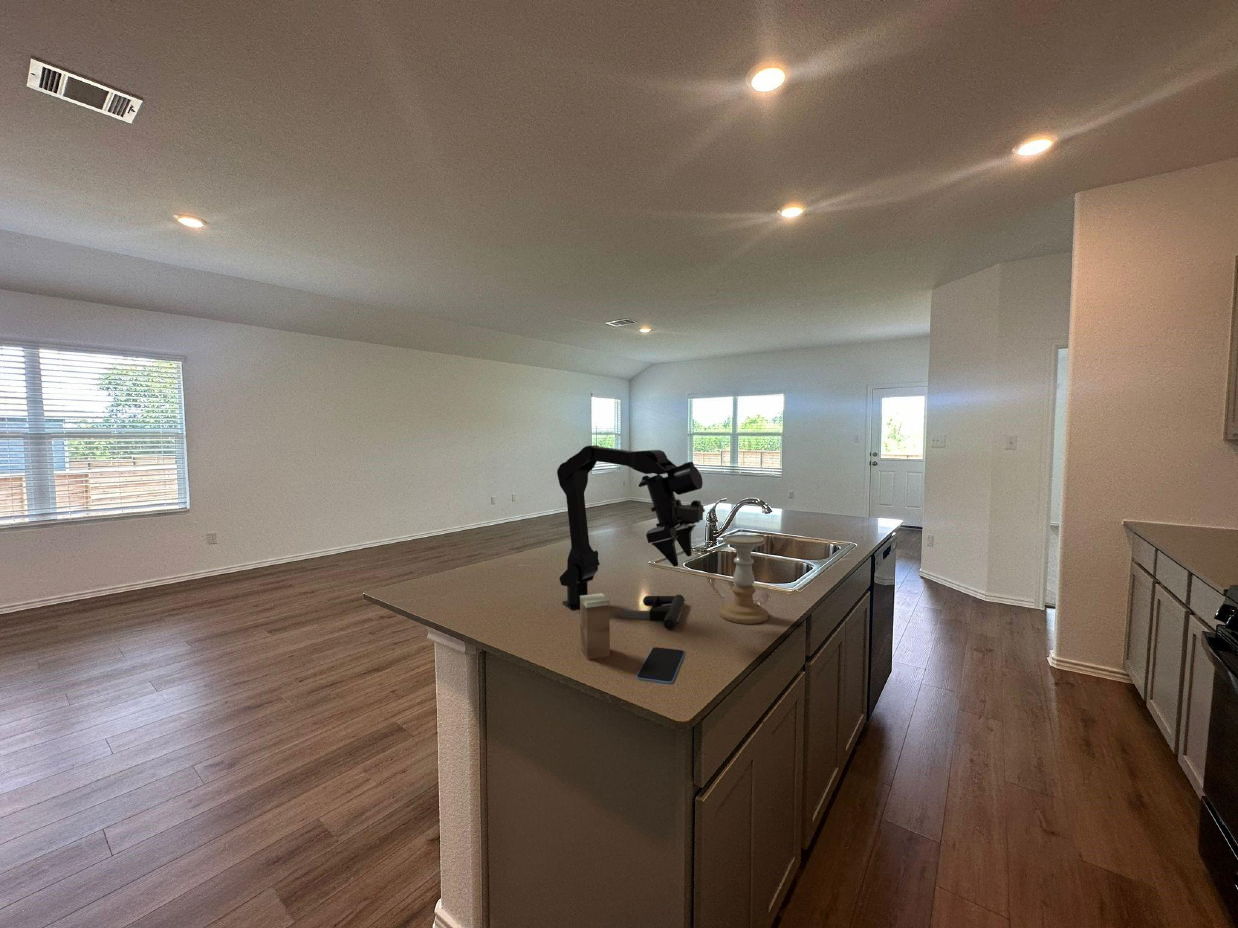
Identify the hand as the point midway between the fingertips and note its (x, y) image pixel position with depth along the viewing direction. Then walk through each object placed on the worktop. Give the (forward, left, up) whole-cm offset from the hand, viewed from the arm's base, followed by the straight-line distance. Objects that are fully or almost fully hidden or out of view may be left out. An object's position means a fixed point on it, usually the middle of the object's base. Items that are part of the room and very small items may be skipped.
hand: (683, 560), depth 122 cm
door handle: (-11, -2, -17) cm, 20 cm away
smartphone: (+14, -16, -17) cm, 28 cm away
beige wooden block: (+2, -25, -16) cm, 30 cm away
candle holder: (+2, +18, -16) cm, 24 cm away
